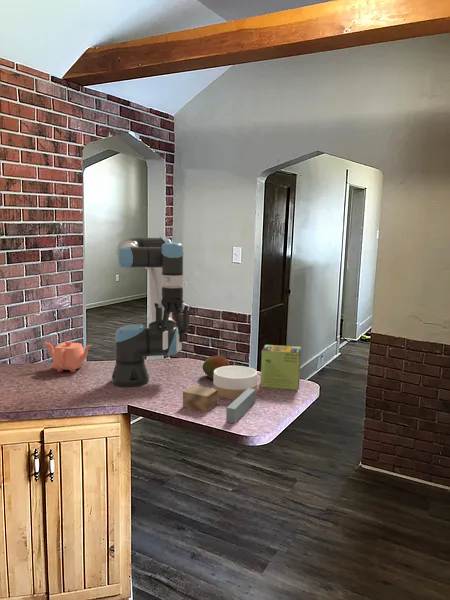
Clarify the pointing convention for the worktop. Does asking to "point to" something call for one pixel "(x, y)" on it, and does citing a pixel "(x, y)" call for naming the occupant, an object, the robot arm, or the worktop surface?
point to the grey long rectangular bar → (240, 405)
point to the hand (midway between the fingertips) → (172, 349)
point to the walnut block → (200, 398)
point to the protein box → (280, 367)
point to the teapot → (68, 355)
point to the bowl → (234, 380)
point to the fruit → (214, 364)
